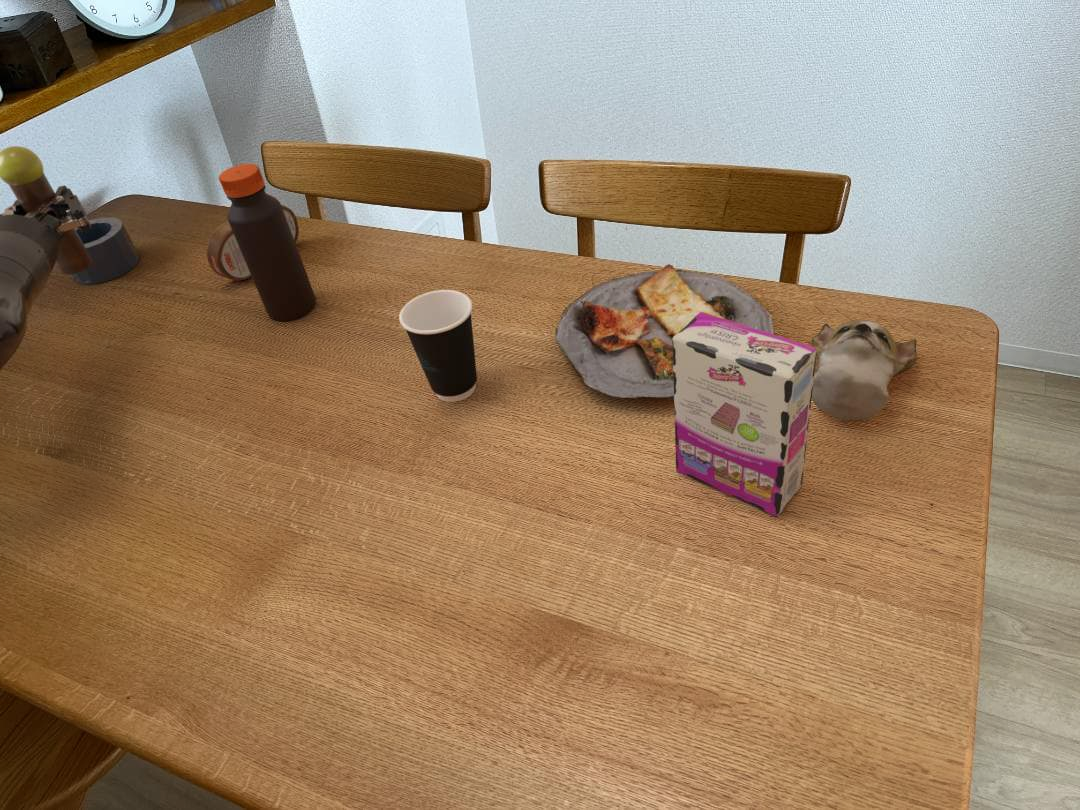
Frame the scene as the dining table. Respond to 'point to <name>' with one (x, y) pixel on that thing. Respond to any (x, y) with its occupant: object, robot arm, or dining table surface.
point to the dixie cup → (443, 341)
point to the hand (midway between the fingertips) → (47, 197)
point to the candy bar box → (742, 409)
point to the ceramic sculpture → (857, 368)
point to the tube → (106, 251)
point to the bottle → (267, 244)
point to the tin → (236, 250)
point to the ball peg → (40, 202)
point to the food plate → (646, 327)
